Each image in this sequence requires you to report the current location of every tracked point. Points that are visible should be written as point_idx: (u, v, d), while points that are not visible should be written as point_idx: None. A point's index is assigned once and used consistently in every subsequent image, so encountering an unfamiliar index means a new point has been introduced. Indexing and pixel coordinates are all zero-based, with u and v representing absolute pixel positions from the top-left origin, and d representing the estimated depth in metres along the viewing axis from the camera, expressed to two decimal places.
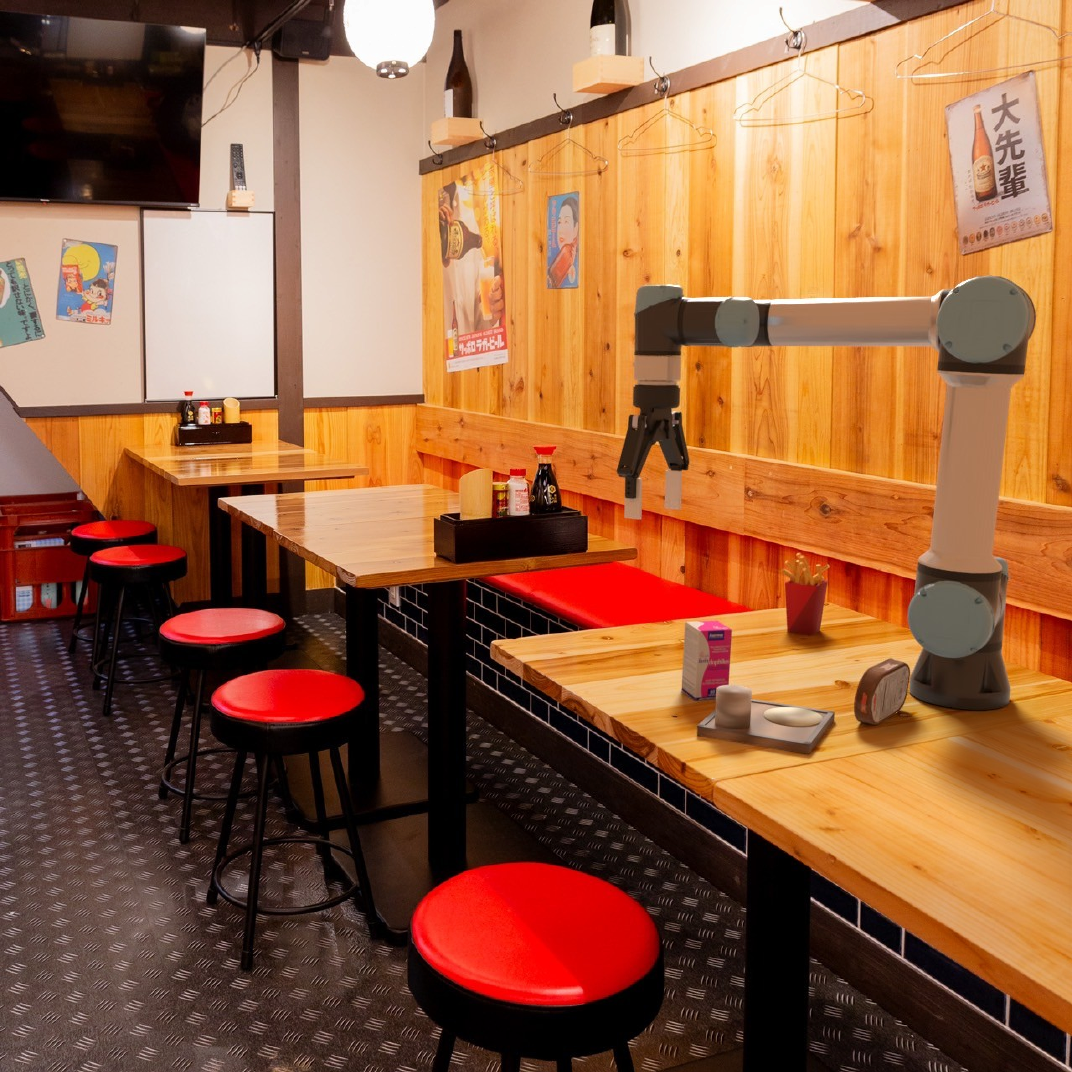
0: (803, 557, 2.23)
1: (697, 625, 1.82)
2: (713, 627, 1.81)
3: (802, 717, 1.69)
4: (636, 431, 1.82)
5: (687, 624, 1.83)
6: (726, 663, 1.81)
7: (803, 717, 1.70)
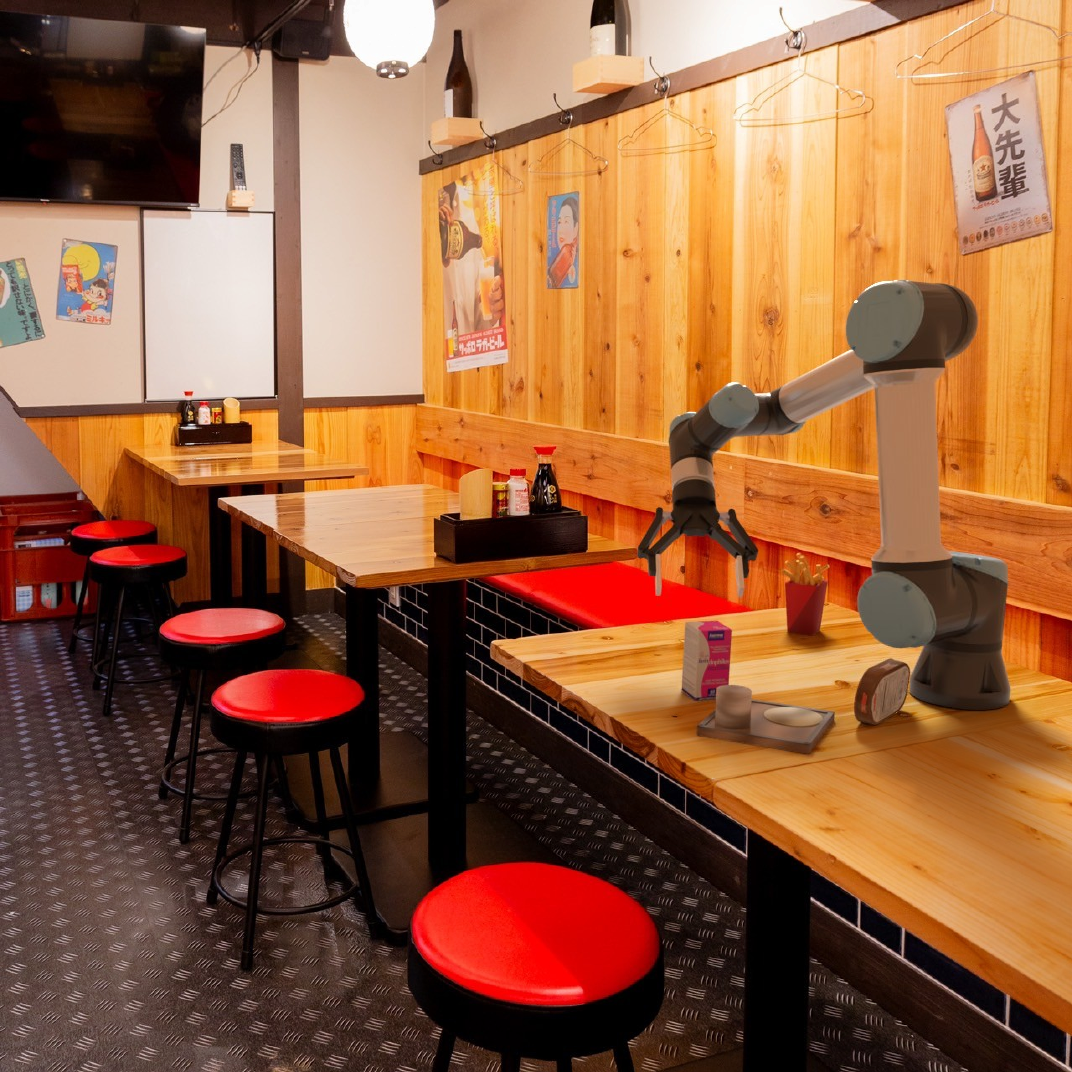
0: (803, 557, 2.23)
1: (697, 625, 1.82)
2: (713, 627, 1.81)
3: (802, 717, 1.69)
4: None
5: (687, 624, 1.83)
6: (726, 663, 1.81)
7: (803, 717, 1.70)
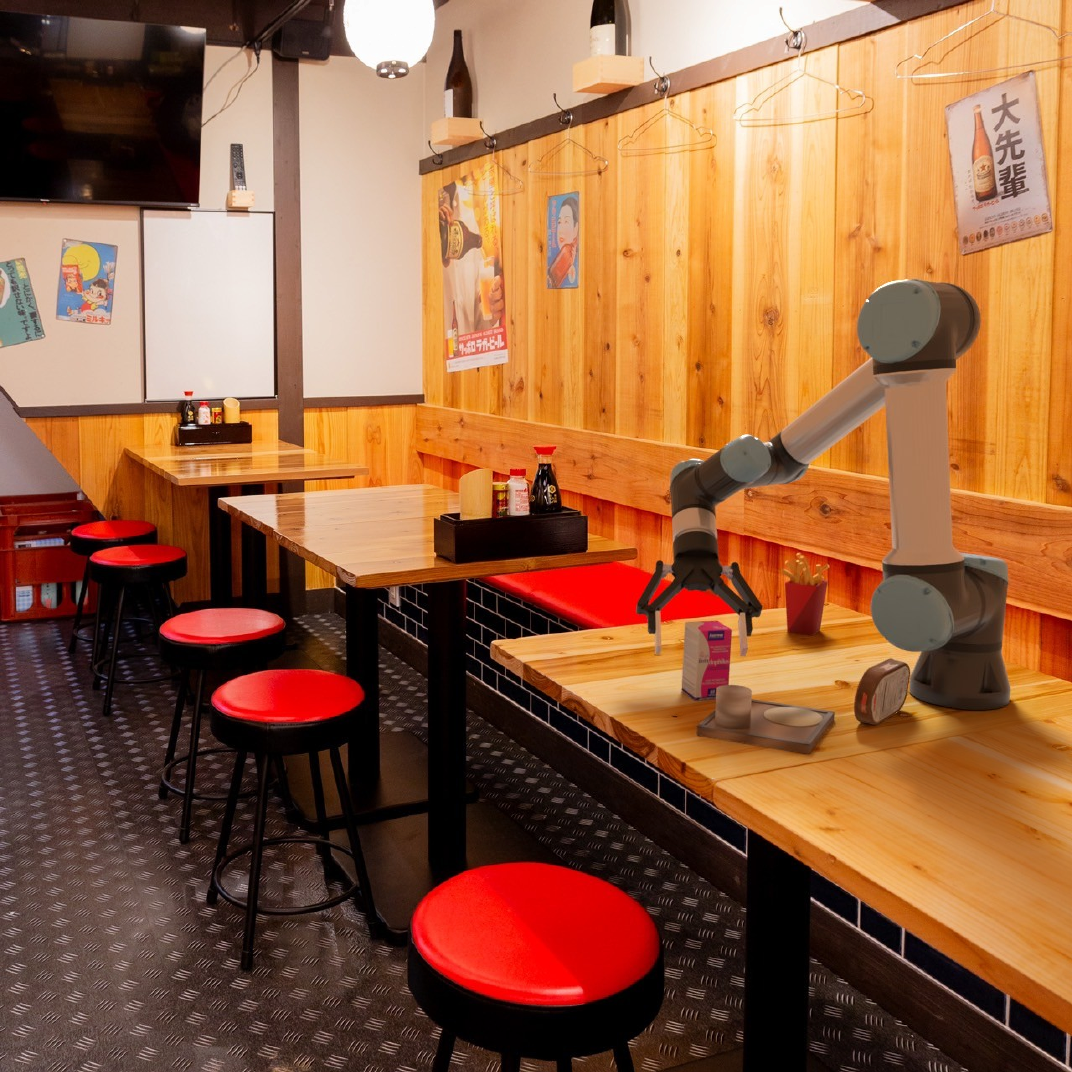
0: (803, 557, 2.23)
1: (697, 625, 1.82)
2: (713, 627, 1.81)
3: (802, 717, 1.69)
4: None
5: (687, 624, 1.83)
6: (726, 663, 1.81)
7: (803, 717, 1.70)
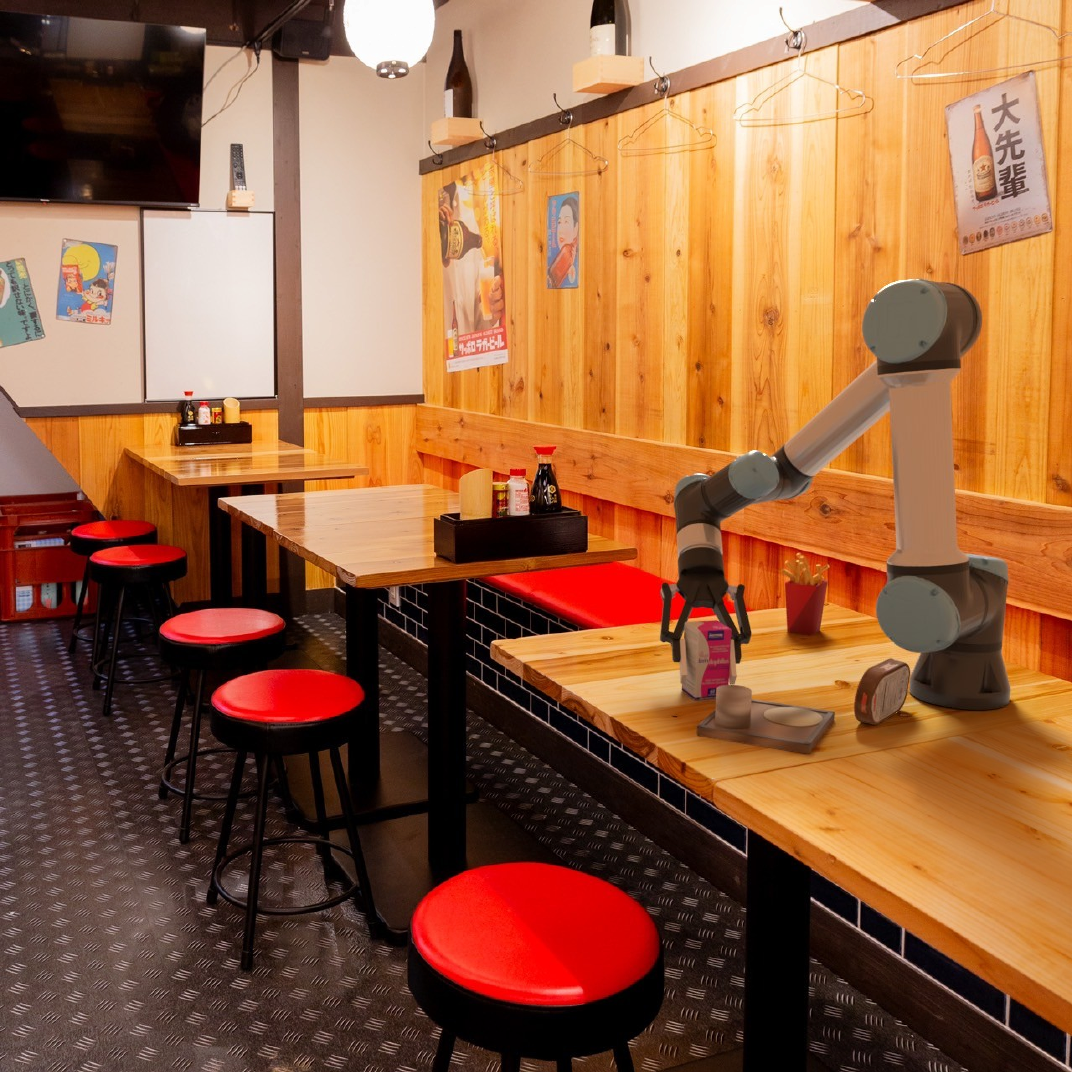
0: (803, 557, 2.23)
1: (697, 625, 1.82)
2: (713, 627, 1.81)
3: (802, 717, 1.69)
4: None
5: (686, 624, 1.83)
6: (726, 663, 1.81)
7: (803, 717, 1.70)
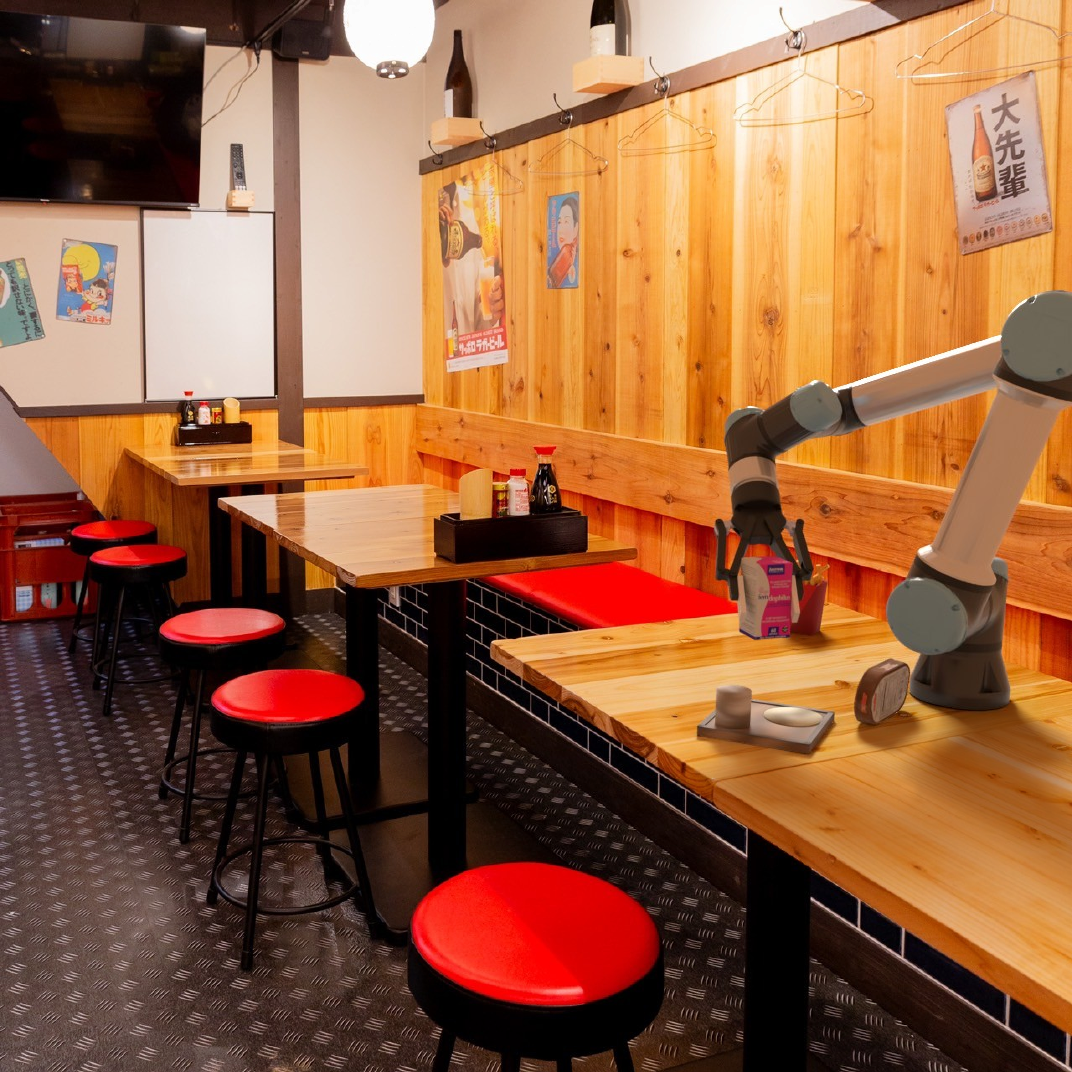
0: None
1: (755, 560, 1.70)
2: (772, 561, 1.70)
3: (802, 717, 1.69)
4: (718, 535, 1.77)
5: (743, 560, 1.72)
6: (787, 599, 1.70)
7: (803, 717, 1.70)
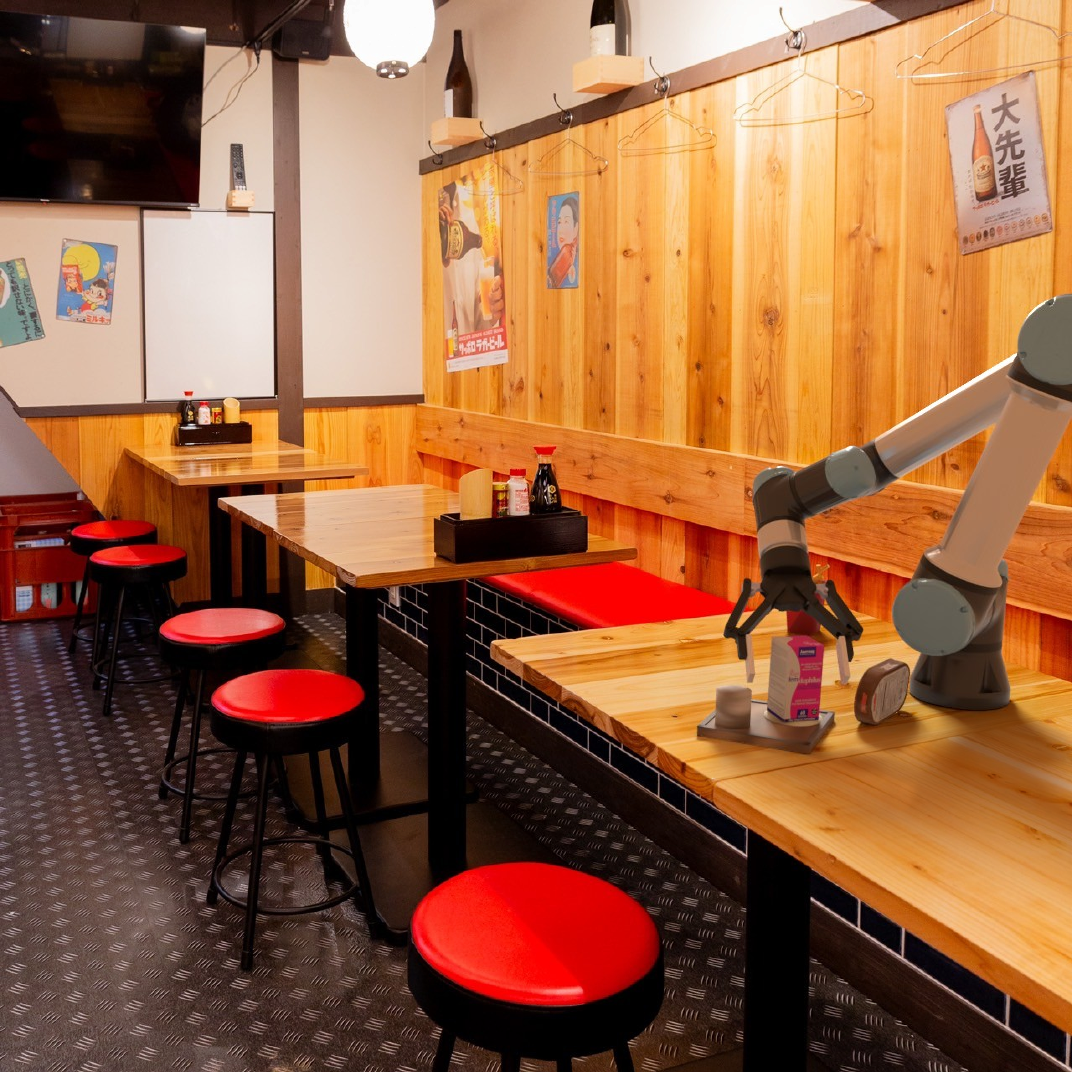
0: None
1: (786, 640, 1.68)
2: (803, 643, 1.67)
3: None
4: None
5: (774, 639, 1.69)
6: (817, 682, 1.67)
7: None
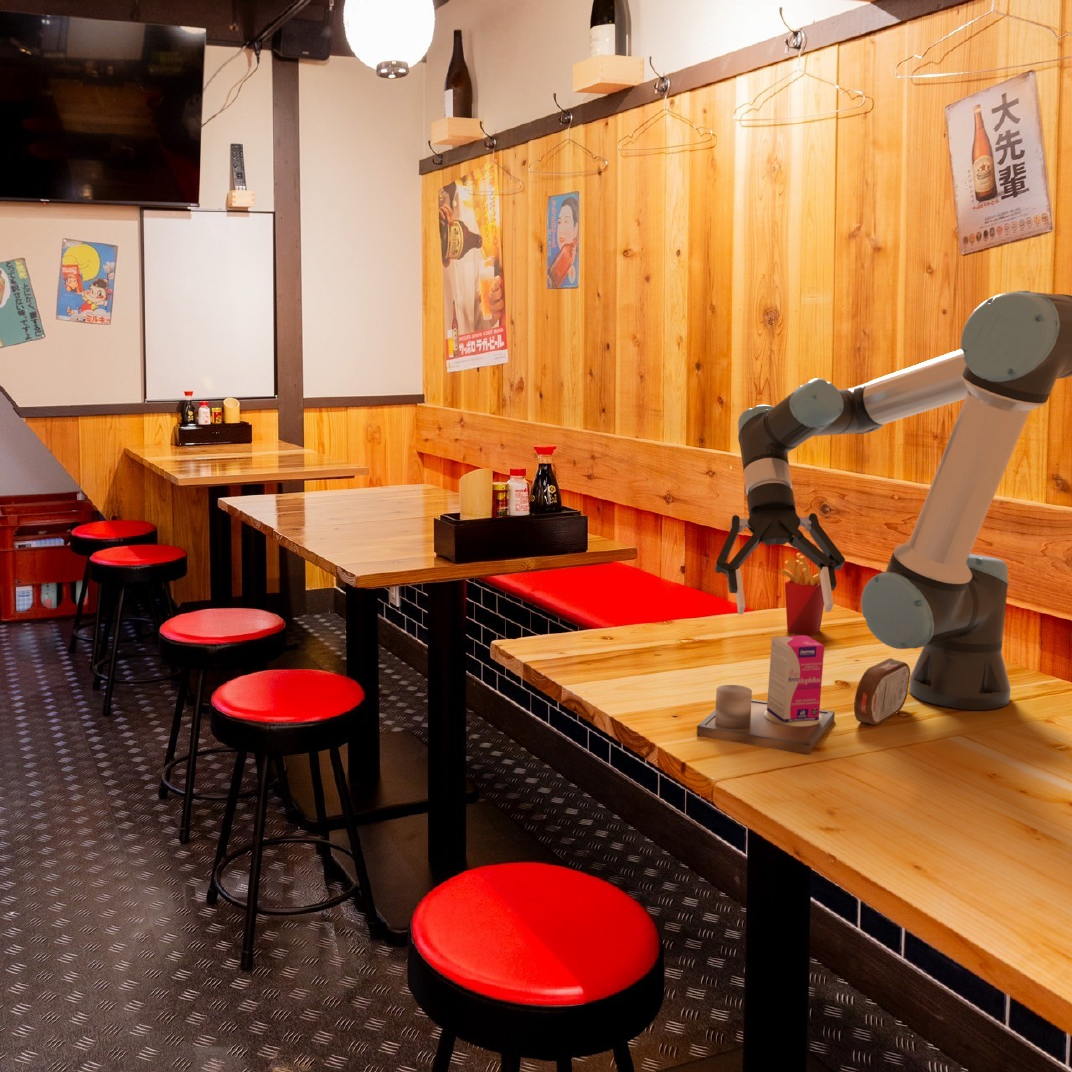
0: (803, 557, 2.23)
1: (786, 640, 1.68)
2: (803, 643, 1.67)
3: None
4: None
5: (774, 639, 1.69)
6: (817, 682, 1.67)
7: None
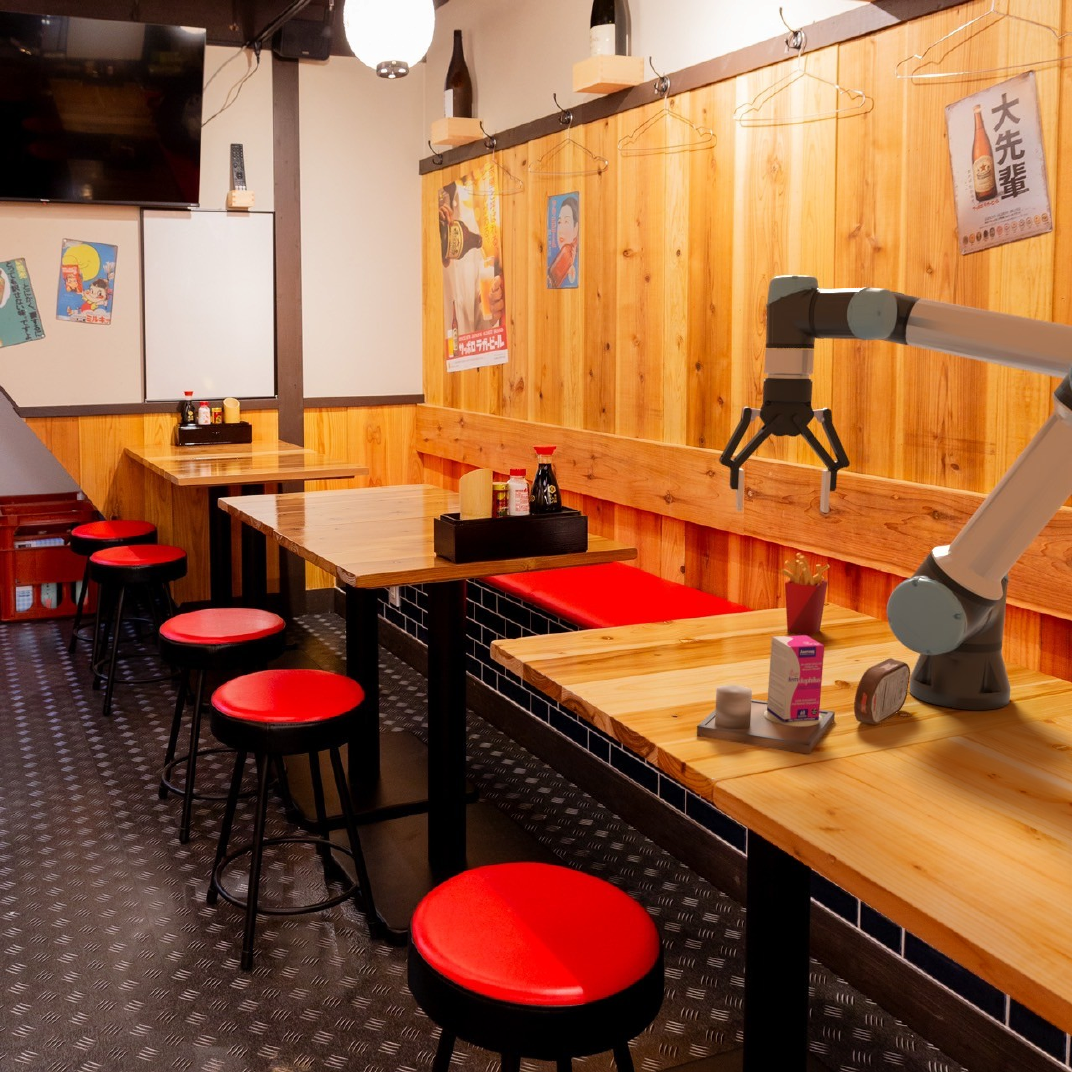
0: (803, 557, 2.23)
1: (786, 640, 1.68)
2: (803, 643, 1.67)
3: None
4: (740, 423, 1.83)
5: (774, 639, 1.69)
6: (817, 682, 1.67)
7: None
